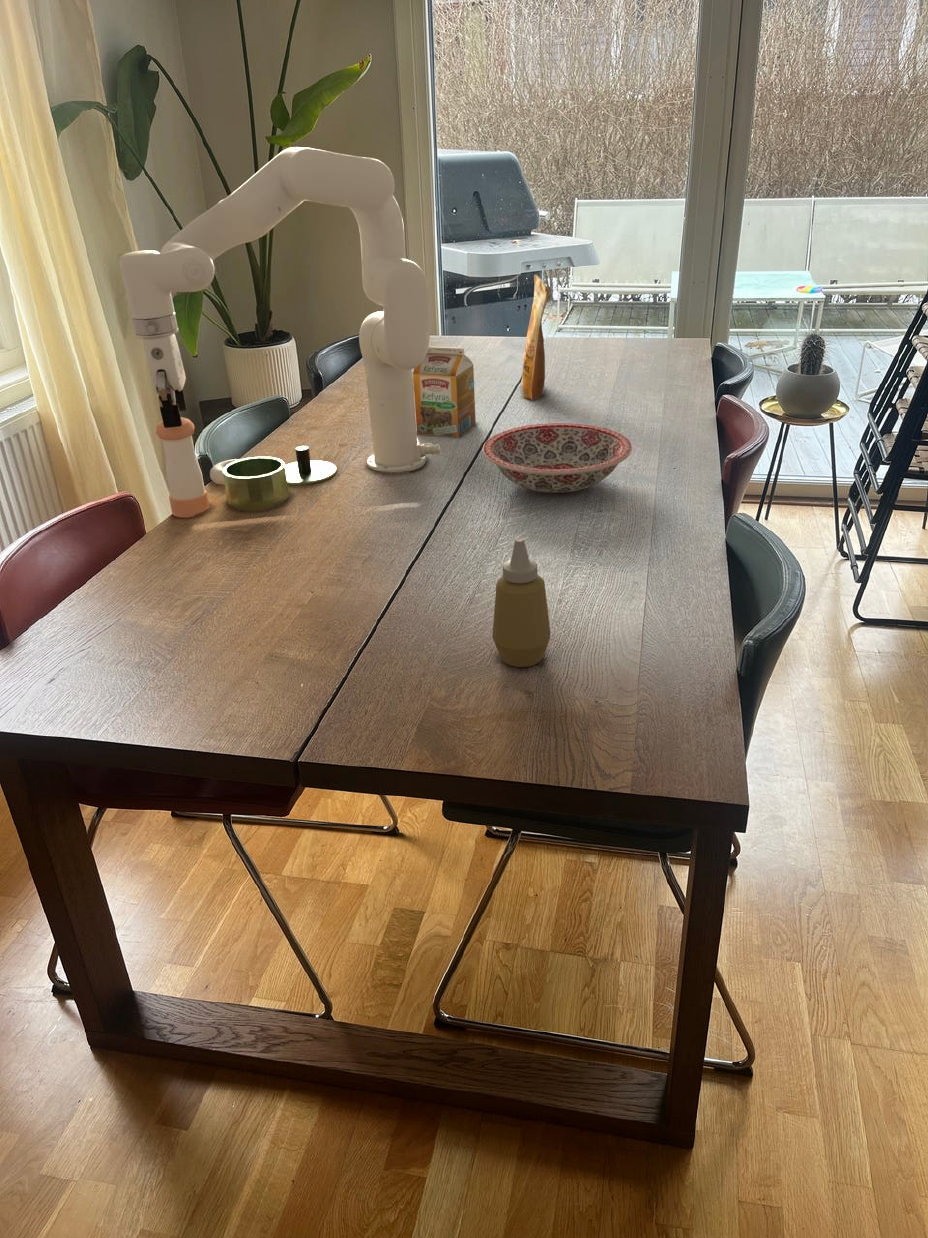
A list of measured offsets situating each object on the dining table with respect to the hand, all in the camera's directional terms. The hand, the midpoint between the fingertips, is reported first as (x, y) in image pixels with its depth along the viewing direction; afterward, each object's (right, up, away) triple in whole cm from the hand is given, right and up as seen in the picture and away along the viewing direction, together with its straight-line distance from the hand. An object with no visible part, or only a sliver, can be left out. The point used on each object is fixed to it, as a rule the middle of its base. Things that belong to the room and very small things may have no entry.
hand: (176, 418), depth 178 cm
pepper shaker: (0, -16, +9) cm, 19 cm away
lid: (+20, -7, +22) cm, 31 cm away
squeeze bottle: (+62, -43, -45) cm, 88 cm away
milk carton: (+50, +7, +47) cm, 69 cm away
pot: (+13, -14, +12) cm, 22 cm away
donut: (+6, -8, +23) cm, 25 cm away
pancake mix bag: (+72, +22, +71) cm, 104 cm away
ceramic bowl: (+72, -11, +12) cm, 74 cm away
